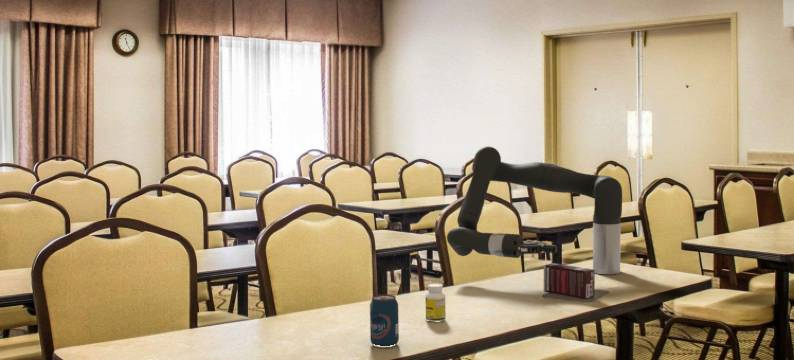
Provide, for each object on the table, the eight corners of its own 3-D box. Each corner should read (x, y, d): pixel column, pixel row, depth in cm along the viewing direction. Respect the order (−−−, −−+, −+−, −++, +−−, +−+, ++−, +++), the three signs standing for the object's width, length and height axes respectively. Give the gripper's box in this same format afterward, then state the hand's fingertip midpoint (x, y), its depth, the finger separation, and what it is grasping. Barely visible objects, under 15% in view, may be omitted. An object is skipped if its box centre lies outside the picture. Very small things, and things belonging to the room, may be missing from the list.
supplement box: (552, 289, 282) (595, 297, 270) (542, 291, 278) (585, 300, 267) (552, 262, 281) (595, 269, 269) (543, 264, 278) (586, 271, 266)
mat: (563, 287, 287) (563, 285, 287) (608, 292, 279) (608, 290, 279) (542, 296, 274) (542, 295, 274) (589, 302, 266) (589, 300, 265)
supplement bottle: (422, 319, 247) (422, 284, 246) (440, 317, 249) (439, 282, 248) (430, 323, 242) (430, 287, 241) (449, 321, 244) (448, 285, 243)
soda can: (366, 347, 219) (365, 299, 218) (376, 340, 226) (376, 293, 225) (392, 349, 217) (392, 300, 216) (402, 342, 223) (402, 295, 222)
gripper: (496, 236, 282) (547, 240, 273) (514, 231, 293) (564, 234, 284) (496, 259, 283) (547, 264, 273) (514, 253, 294) (564, 258, 284)
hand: (556, 249), depth 279 cm, fingers closed
